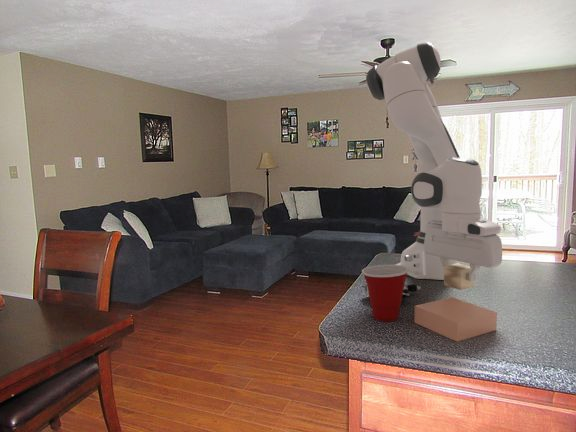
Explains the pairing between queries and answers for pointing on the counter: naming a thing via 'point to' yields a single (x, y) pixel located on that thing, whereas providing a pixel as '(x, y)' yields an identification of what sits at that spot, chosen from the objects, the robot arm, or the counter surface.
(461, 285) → the maple cube
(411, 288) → the robot toy
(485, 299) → the counter surface
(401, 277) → the plastic cup
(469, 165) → the robot arm
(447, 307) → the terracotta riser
